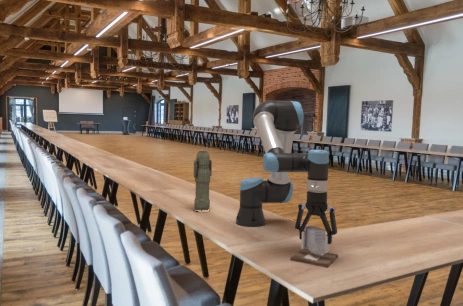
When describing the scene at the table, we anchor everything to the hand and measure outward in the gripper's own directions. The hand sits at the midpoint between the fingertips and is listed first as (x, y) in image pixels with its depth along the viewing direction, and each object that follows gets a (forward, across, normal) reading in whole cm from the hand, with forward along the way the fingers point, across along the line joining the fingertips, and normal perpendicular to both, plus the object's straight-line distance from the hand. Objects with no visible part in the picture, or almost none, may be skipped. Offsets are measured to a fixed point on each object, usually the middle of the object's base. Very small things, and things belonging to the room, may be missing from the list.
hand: (314, 249), depth 150 cm
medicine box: (+1, 0, 0) cm, 1 cm away
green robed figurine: (+4, -83, +46) cm, 95 cm away
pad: (+3, 0, 0) cm, 3 cm away
